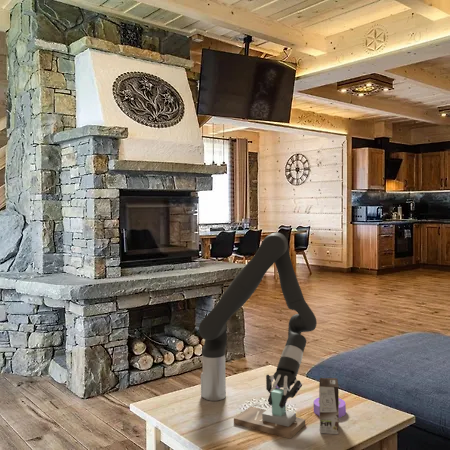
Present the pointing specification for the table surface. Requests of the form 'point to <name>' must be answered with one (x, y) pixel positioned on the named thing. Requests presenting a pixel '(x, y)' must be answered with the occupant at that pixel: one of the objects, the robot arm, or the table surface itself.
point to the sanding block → (278, 411)
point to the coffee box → (329, 405)
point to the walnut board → (267, 423)
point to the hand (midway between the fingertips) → (275, 405)
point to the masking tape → (341, 407)
